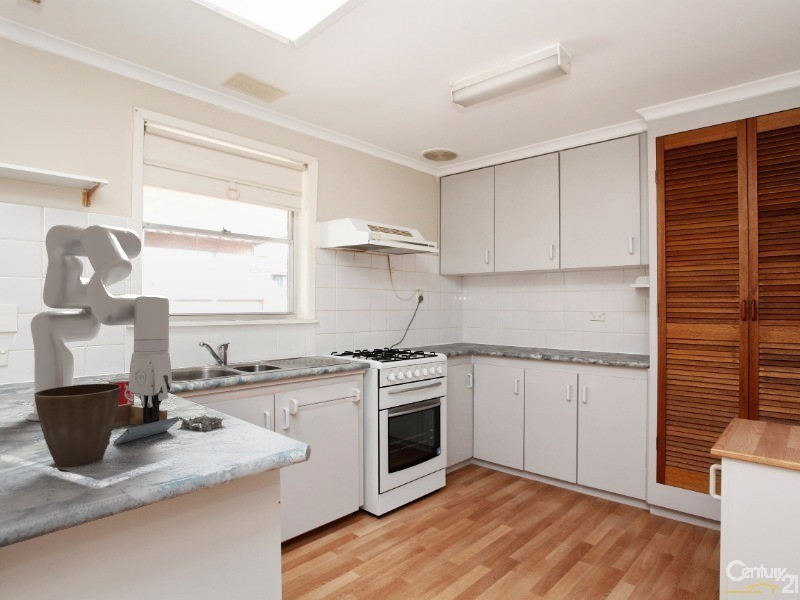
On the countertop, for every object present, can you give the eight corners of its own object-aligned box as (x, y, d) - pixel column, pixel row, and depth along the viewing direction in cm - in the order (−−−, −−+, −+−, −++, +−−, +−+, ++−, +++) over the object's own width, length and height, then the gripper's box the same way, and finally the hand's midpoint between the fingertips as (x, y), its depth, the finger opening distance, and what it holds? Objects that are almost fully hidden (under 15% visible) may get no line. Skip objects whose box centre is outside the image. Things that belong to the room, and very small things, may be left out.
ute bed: (68, 441, 116) (68, 415, 116) (130, 426, 130) (131, 403, 130) (109, 451, 108) (109, 422, 108) (171, 434, 123) (171, 409, 123)
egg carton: (176, 432, 125) (176, 416, 125) (200, 426, 132) (200, 411, 132) (202, 437, 120) (202, 421, 120) (226, 431, 127) (226, 415, 127)
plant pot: (22, 484, 88) (23, 398, 89) (45, 460, 102) (46, 386, 102) (115, 472, 94) (115, 392, 95) (125, 451, 108) (125, 381, 108)
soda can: (120, 425, 131) (121, 382, 131) (99, 424, 133) (99, 381, 133) (139, 419, 138) (140, 378, 138) (119, 418, 140) (119, 377, 140)
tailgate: (113, 441, 110) (127, 428, 108) (163, 428, 122) (177, 416, 119) (114, 445, 110) (129, 433, 107) (165, 432, 121) (179, 420, 119)
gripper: (117, 346, 114) (116, 422, 114) (157, 349, 107) (157, 430, 107) (146, 344, 121) (145, 416, 121) (186, 346, 114) (185, 422, 114)
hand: (151, 422), depth 114 cm, fingers closed
